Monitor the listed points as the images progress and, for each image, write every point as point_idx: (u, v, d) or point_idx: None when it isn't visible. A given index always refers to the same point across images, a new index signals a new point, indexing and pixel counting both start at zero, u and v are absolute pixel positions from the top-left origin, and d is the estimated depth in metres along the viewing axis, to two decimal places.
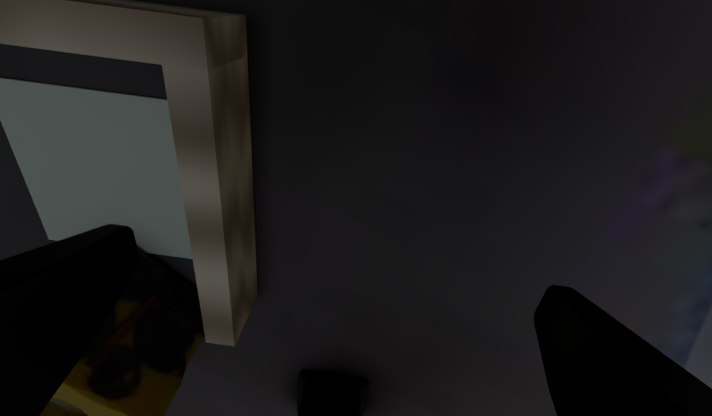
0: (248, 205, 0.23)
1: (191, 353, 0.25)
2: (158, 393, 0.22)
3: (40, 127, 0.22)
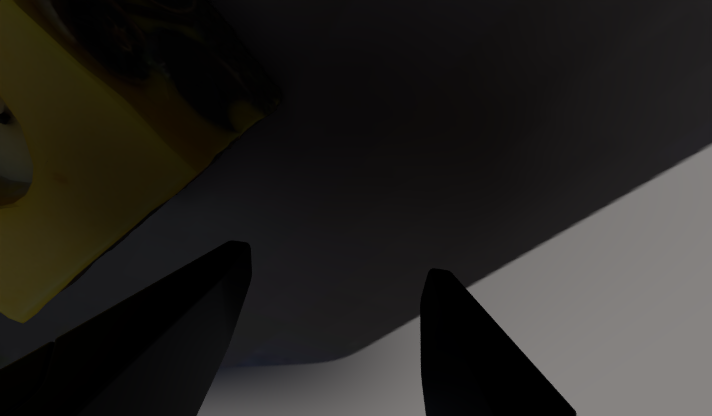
0: None
1: None
2: None
3: None
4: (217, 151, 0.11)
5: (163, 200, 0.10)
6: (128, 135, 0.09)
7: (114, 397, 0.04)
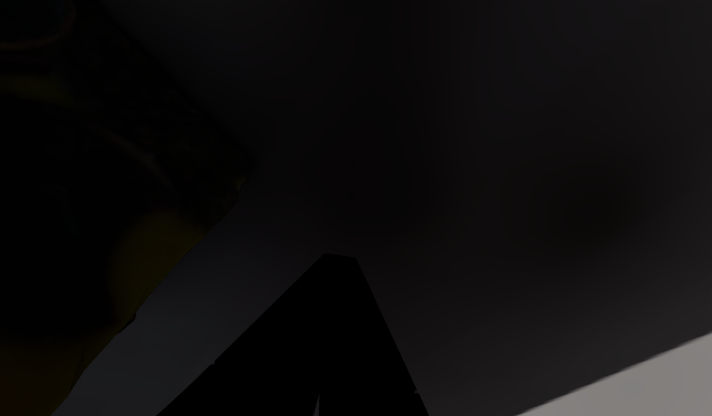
0: None
1: None
2: None
3: None
4: None
5: None
6: None
7: None
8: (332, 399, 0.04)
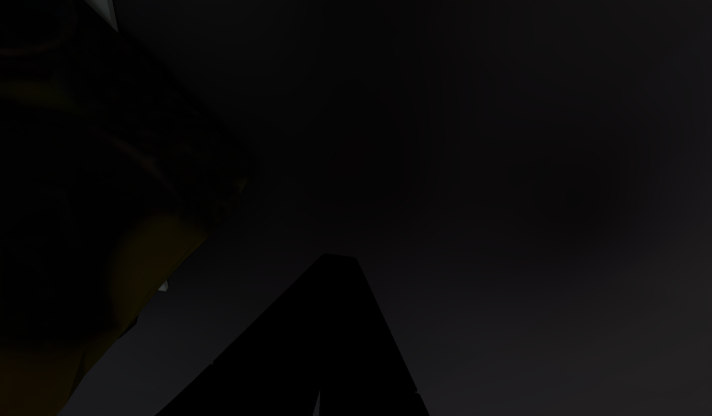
0: None
1: None
2: None
3: None
4: None
5: None
6: None
7: None
8: (333, 399, 0.04)
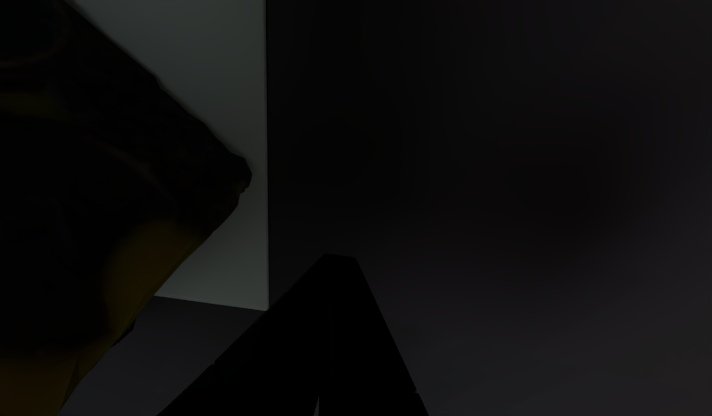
0: None
1: None
2: None
3: None
4: None
5: None
6: None
7: None
8: (332, 399, 0.04)
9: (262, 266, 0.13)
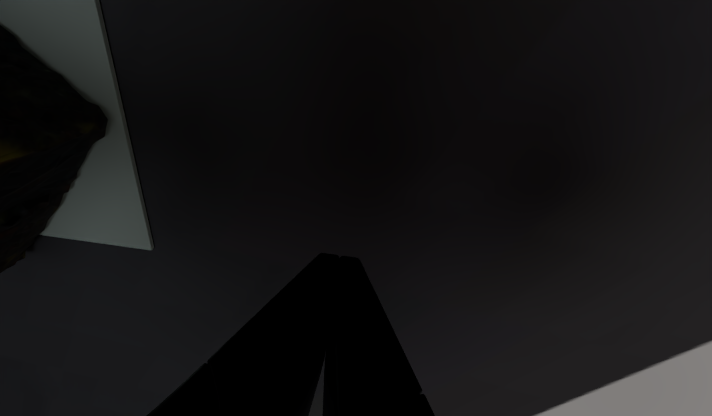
0: None
1: None
2: None
3: None
4: None
5: None
6: None
7: None
8: (338, 400, 0.04)
9: (138, 207, 0.15)
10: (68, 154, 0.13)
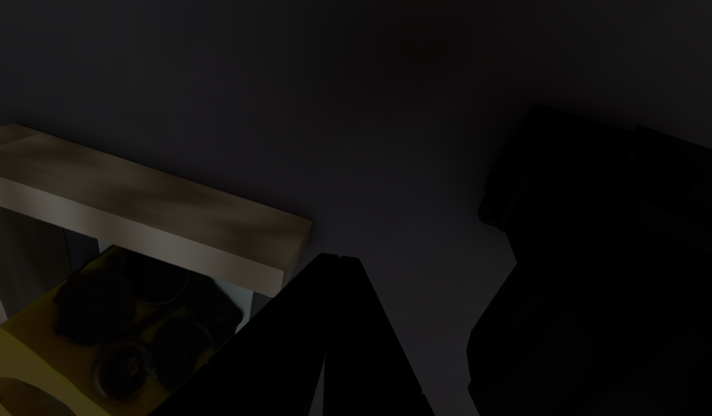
0: (166, 182, 0.21)
1: (95, 260, 0.20)
2: None
3: None
4: None
5: None
6: None
7: None
8: (338, 400, 0.04)
9: None
10: None
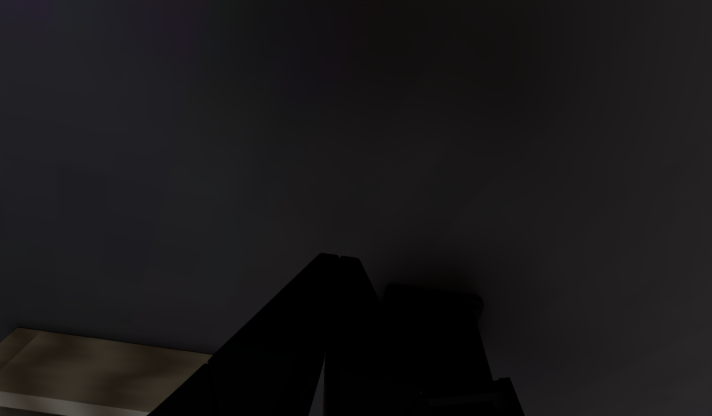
0: (143, 357, 0.28)
1: None
2: None
3: None
4: None
5: None
6: None
7: None
8: (338, 400, 0.04)
9: None
10: None
